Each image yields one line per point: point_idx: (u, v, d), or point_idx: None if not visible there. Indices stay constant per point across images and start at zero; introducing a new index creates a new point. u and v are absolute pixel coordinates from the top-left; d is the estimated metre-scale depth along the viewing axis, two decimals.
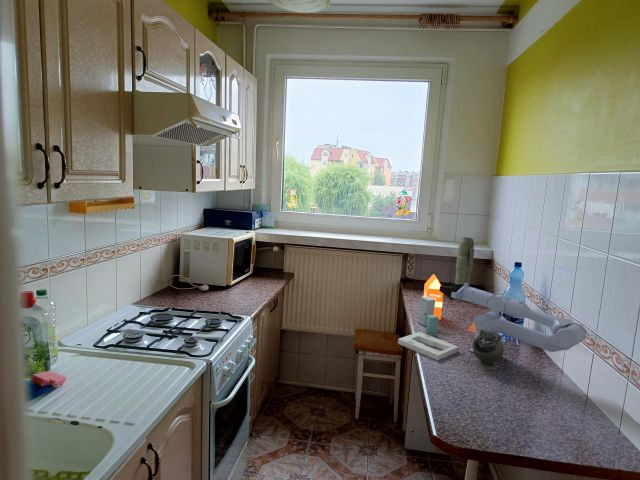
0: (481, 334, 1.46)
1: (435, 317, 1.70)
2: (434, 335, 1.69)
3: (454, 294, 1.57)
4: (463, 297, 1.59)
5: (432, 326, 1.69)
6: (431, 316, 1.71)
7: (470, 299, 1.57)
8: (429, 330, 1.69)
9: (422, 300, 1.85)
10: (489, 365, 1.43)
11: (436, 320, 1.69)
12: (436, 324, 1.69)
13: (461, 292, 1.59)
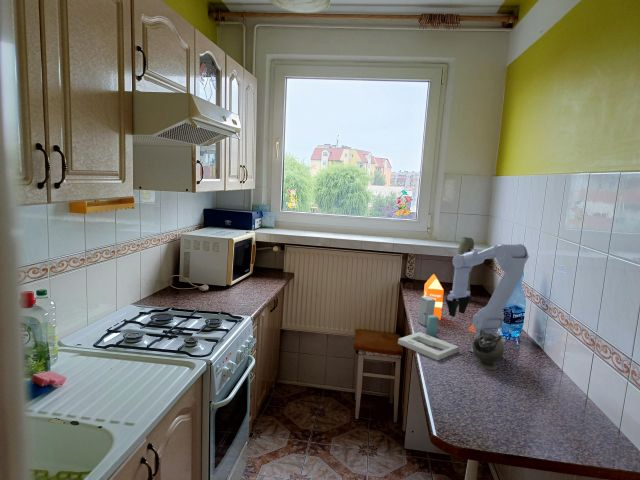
0: (481, 334, 1.46)
1: (435, 317, 1.70)
2: (434, 335, 1.69)
3: (448, 296, 1.65)
4: (458, 293, 1.67)
5: (432, 326, 1.69)
6: (431, 316, 1.71)
7: (459, 285, 1.67)
8: (429, 330, 1.69)
9: (422, 300, 1.85)
10: (489, 365, 1.43)
11: (436, 320, 1.69)
12: (436, 324, 1.69)
13: (453, 294, 1.68)
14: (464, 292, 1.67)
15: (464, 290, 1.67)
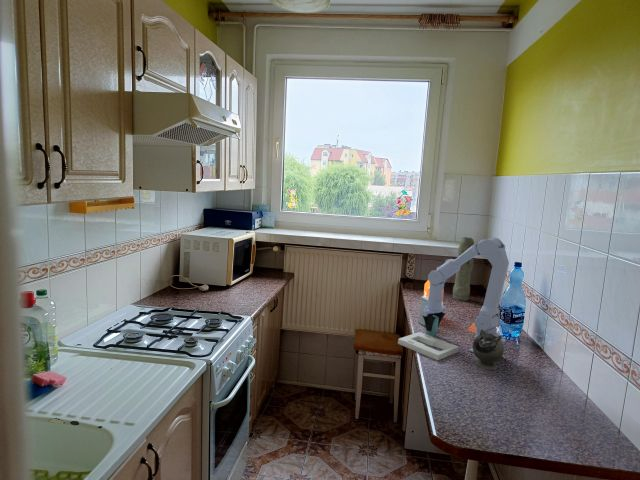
0: (481, 334, 1.46)
1: None
2: (434, 335, 1.69)
3: (423, 312, 1.66)
4: (433, 308, 1.67)
5: None
6: None
7: (433, 301, 1.67)
8: None
9: (422, 300, 1.85)
10: (489, 365, 1.43)
11: (436, 320, 1.69)
12: (436, 324, 1.69)
13: (428, 309, 1.68)
14: (439, 308, 1.67)
15: (439, 306, 1.67)
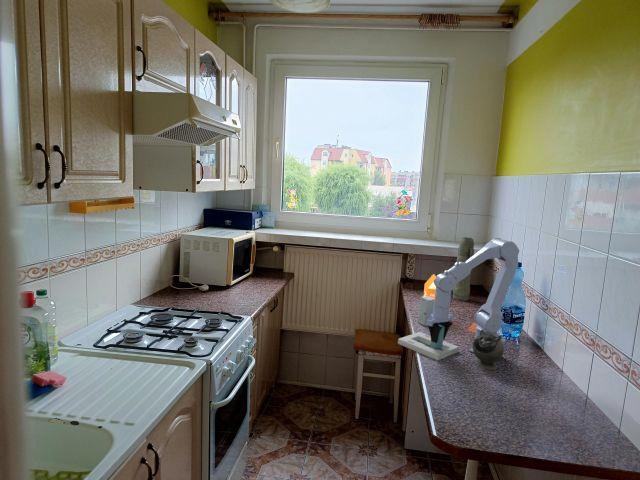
0: (481, 334, 1.46)
1: None
2: (439, 347, 1.53)
3: (428, 321, 1.49)
4: (439, 317, 1.50)
5: None
6: None
7: (440, 309, 1.50)
8: None
9: (422, 300, 1.85)
10: (489, 365, 1.43)
11: (441, 330, 1.52)
12: (441, 335, 1.52)
13: (434, 318, 1.52)
14: (445, 316, 1.50)
15: (445, 314, 1.50)
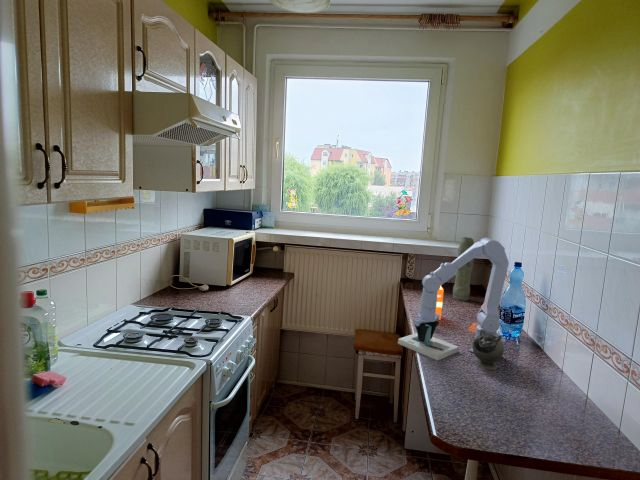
0: (481, 334, 1.46)
1: None
2: None
3: (415, 321, 1.53)
4: (426, 317, 1.55)
5: None
6: None
7: (426, 309, 1.54)
8: None
9: None
10: (489, 365, 1.43)
11: (428, 330, 1.56)
12: (428, 334, 1.56)
13: (421, 318, 1.56)
14: (432, 316, 1.55)
15: (432, 314, 1.54)
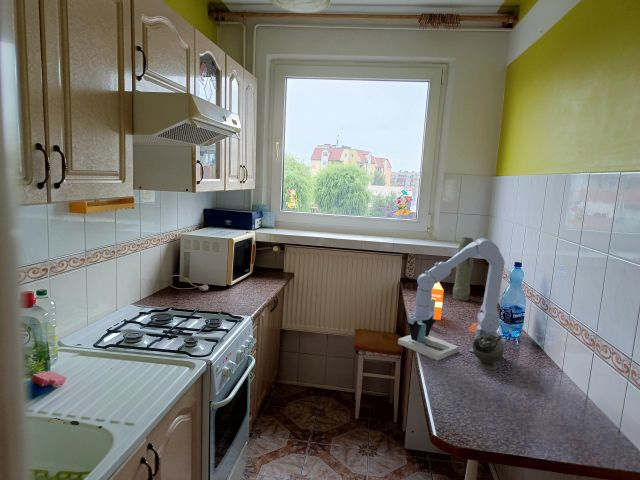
0: (481, 334, 1.46)
1: (422, 325, 1.59)
2: None
3: (409, 319, 1.55)
4: (420, 315, 1.56)
5: (418, 335, 1.58)
6: None
7: (421, 308, 1.56)
8: None
9: None
10: (489, 365, 1.43)
11: (423, 328, 1.58)
12: (423, 332, 1.58)
13: (416, 316, 1.58)
14: (426, 314, 1.56)
15: (426, 312, 1.56)
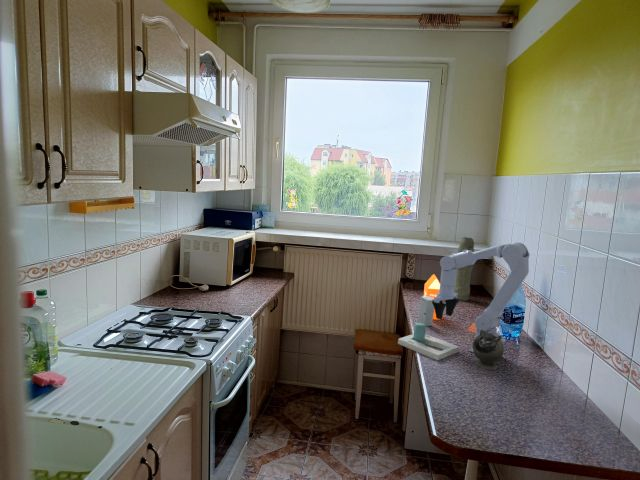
0: (481, 334, 1.46)
1: (422, 325, 1.59)
2: None
3: (435, 298, 1.61)
4: (445, 295, 1.63)
5: (418, 335, 1.58)
6: (418, 324, 1.60)
7: (446, 287, 1.62)
8: (416, 338, 1.59)
9: (422, 300, 1.85)
10: (489, 365, 1.43)
11: (423, 328, 1.58)
12: (423, 332, 1.58)
13: (440, 296, 1.64)
14: (451, 294, 1.63)
15: (451, 292, 1.63)
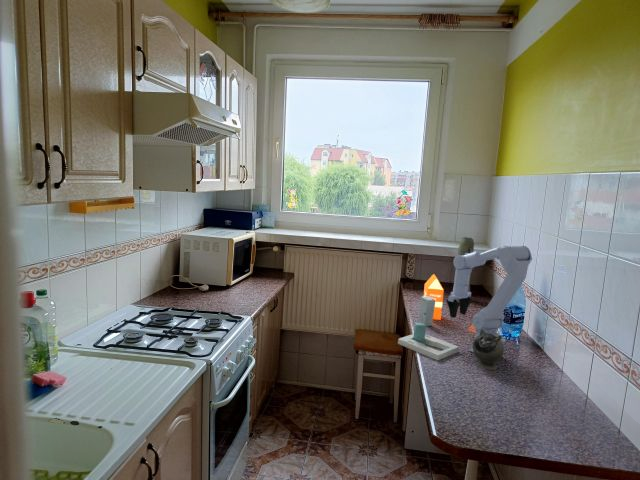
0: (481, 334, 1.46)
1: (422, 325, 1.59)
2: None
3: (449, 297, 1.64)
4: (459, 293, 1.66)
5: (418, 335, 1.58)
6: (418, 324, 1.60)
7: (460, 286, 1.65)
8: (416, 338, 1.59)
9: (422, 300, 1.85)
10: (489, 365, 1.43)
11: (423, 328, 1.58)
12: (423, 332, 1.58)
13: (454, 295, 1.67)
14: (465, 293, 1.66)
15: (465, 291, 1.65)
